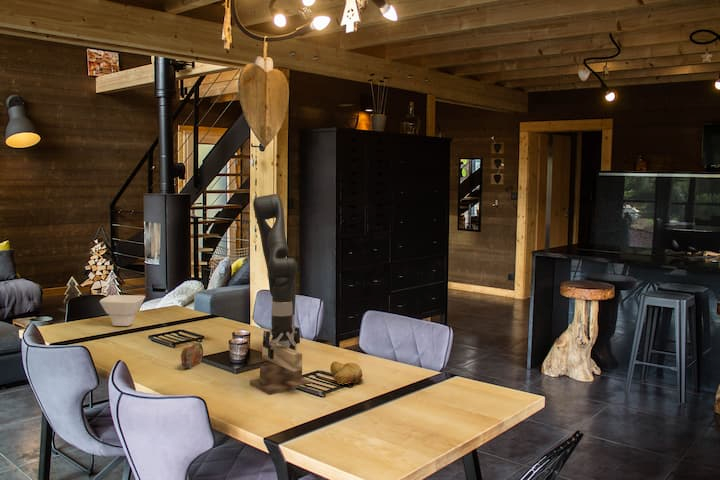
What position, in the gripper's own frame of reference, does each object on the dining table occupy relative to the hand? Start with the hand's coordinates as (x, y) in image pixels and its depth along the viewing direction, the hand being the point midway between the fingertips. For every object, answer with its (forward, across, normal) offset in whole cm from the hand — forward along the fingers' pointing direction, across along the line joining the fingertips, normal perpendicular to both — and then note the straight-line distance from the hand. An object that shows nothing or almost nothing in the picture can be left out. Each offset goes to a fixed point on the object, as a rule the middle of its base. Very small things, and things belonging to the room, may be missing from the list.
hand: (281, 357), depth 241 cm
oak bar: (+2, 0, 0) cm, 2 cm away
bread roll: (+11, -23, +11) cm, 27 cm away
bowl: (+11, +15, -128) cm, 129 cm away
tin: (+11, +16, -42) cm, 46 cm away
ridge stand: (+10, 0, 0) cm, 10 cm away
